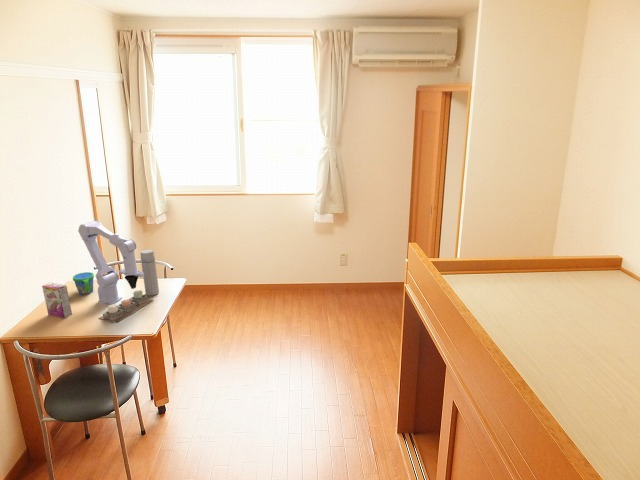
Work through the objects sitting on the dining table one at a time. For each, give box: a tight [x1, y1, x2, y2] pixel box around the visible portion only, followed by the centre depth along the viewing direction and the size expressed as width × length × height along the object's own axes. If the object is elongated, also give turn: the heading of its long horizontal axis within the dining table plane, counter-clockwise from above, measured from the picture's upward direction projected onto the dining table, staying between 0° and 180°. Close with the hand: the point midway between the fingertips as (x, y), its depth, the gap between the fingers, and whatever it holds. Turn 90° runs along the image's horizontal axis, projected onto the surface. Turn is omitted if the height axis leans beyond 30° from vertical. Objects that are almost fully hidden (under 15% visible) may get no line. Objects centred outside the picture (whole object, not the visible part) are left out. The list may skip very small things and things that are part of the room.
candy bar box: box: [42, 282, 73, 319], centre depth 226 cm, size 11×5×16 cm, turn 71°
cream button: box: [107, 303, 118, 315], centre depth 224 cm, size 4×4×4 cm
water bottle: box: [139, 249, 160, 296], centre depth 249 cm, size 9×8×25 cm
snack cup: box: [72, 271, 95, 295], centre depth 253 cm, size 16×10×10 cm
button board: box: [98, 294, 154, 324], centre depth 233 cm, size 12×26×3 cm, turn 160°
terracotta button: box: [120, 298, 131, 307], centre depth 233 cm, size 4×4×4 cm
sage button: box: [133, 290, 144, 300], centre depth 240 cm, size 4×4×4 cm
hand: (133, 288), depth 234 cm, fingers closed
